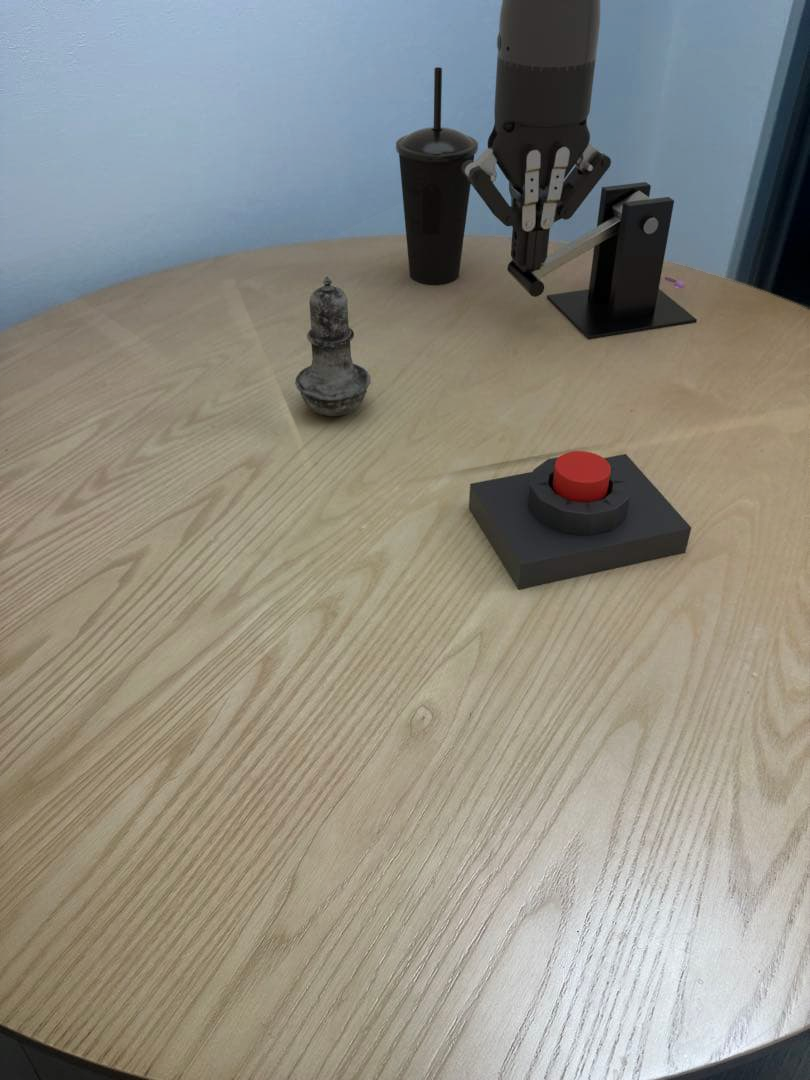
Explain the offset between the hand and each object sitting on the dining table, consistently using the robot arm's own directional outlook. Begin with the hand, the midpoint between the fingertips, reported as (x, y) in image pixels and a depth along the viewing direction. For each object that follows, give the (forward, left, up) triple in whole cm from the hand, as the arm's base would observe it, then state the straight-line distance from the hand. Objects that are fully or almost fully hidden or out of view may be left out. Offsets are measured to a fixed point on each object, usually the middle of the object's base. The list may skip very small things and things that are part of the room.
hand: (528, 267), depth 83 cm
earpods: (-18, -4, -7) cm, 19 cm away
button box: (+8, +28, -6) cm, 30 cm away
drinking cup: (+4, -13, -7) cm, 15 cm away
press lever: (-6, 0, 0) cm, 6 cm away
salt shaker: (+20, +9, -7) cm, 23 cm away
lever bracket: (-10, 0, -6) cm, 12 cm away
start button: (+8, +28, -3) cm, 29 cm away
